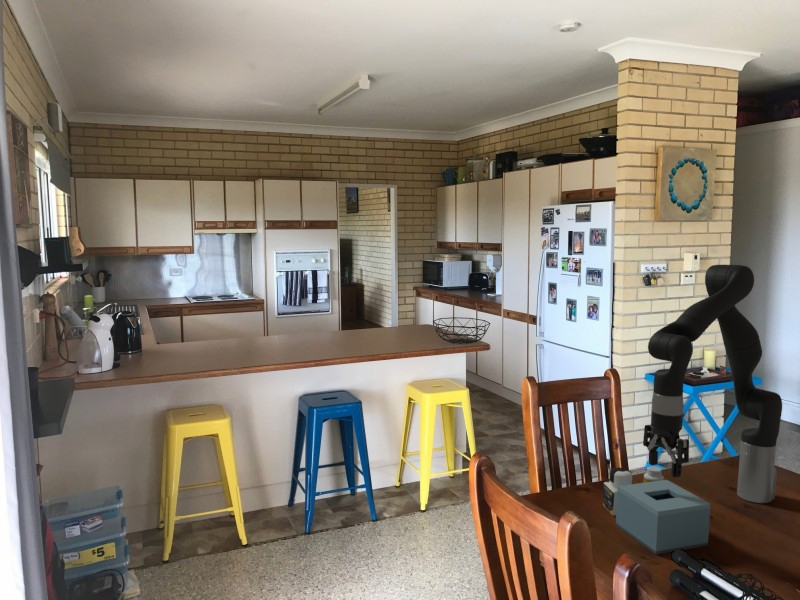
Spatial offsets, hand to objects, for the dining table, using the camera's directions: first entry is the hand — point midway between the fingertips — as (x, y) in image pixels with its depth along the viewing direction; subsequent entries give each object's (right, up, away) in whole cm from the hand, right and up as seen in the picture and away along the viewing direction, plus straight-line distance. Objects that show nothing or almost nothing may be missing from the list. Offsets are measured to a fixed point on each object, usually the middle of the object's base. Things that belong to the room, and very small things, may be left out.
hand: (664, 470), depth 164 cm
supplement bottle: (+6, -16, +23) cm, 28 cm away
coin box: (0, -18, +2) cm, 18 cm away
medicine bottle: (-6, -16, +17) cm, 24 cm away
